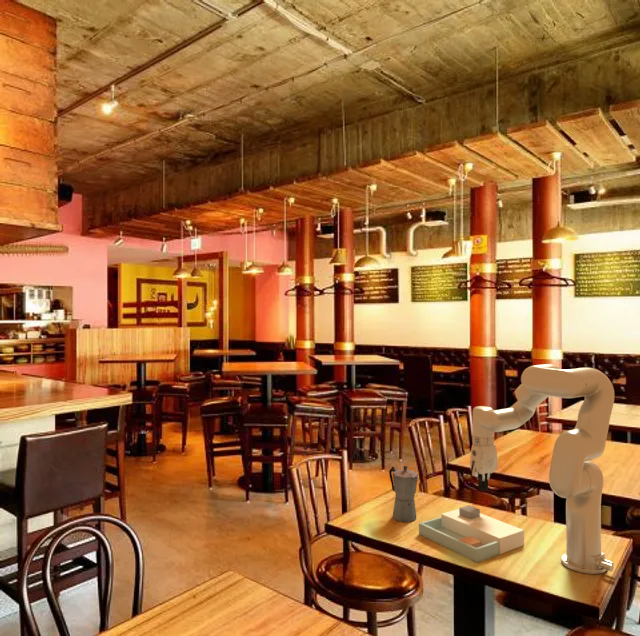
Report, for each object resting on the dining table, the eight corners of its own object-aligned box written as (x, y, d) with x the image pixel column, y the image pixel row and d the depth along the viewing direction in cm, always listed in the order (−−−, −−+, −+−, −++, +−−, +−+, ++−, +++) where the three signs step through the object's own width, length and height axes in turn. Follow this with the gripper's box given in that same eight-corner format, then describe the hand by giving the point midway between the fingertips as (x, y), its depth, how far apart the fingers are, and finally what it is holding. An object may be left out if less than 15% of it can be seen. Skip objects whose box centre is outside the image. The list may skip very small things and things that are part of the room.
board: (524, 545, 176) (524, 530, 176) (500, 554, 170) (499, 538, 170) (464, 520, 198) (464, 507, 198) (441, 527, 192) (441, 513, 192)
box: (499, 554, 169) (499, 541, 169) (476, 562, 164) (476, 549, 164) (440, 527, 192) (440, 516, 192) (418, 534, 186) (418, 523, 186)
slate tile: (479, 516, 189) (479, 509, 189) (470, 519, 186) (469, 512, 186) (469, 512, 193) (469, 505, 193) (459, 515, 190) (459, 508, 190)
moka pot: (410, 527, 193) (409, 472, 193) (380, 515, 205) (379, 463, 205) (427, 520, 199) (426, 467, 199) (396, 509, 211) (396, 459, 211)
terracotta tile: (470, 544, 170) (470, 552, 170) (481, 541, 172) (481, 549, 172) (458, 539, 174) (458, 547, 174) (469, 536, 177) (469, 543, 177)
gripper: (477, 445, 187) (477, 497, 187) (505, 440, 195) (505, 489, 195) (461, 441, 193) (461, 491, 193) (489, 435, 201) (488, 483, 201)
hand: (483, 490), depth 194 cm, fingers closed
